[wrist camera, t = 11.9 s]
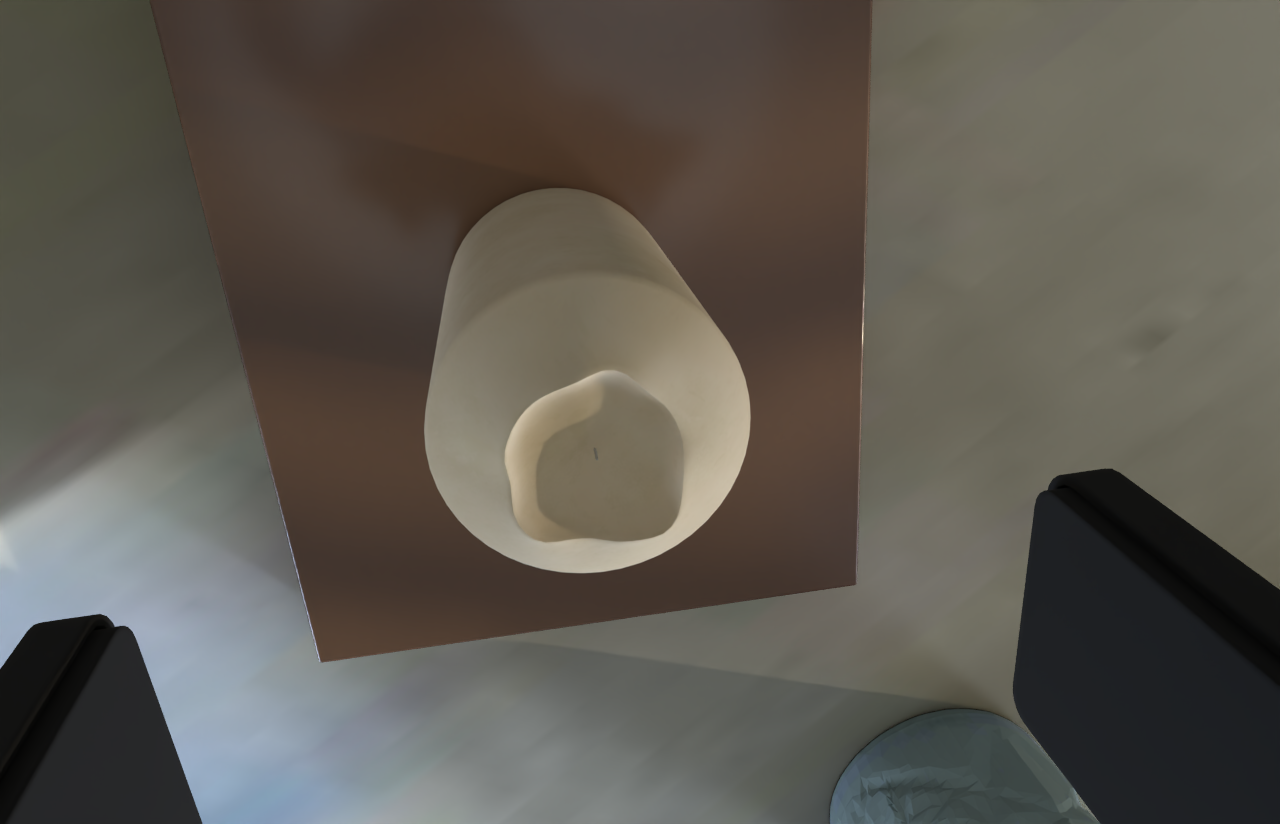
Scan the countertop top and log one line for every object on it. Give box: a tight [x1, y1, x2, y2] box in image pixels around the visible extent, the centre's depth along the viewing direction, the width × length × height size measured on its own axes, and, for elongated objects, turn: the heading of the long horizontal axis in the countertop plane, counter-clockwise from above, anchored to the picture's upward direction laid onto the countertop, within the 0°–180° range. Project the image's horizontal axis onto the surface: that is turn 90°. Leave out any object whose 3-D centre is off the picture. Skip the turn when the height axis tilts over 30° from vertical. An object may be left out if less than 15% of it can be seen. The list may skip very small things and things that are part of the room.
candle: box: [424, 188, 751, 573], centre depth 19 cm, size 6×6×10 cm
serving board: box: [150, 0, 872, 662], centre depth 25 cm, size 20×16×2 cm
